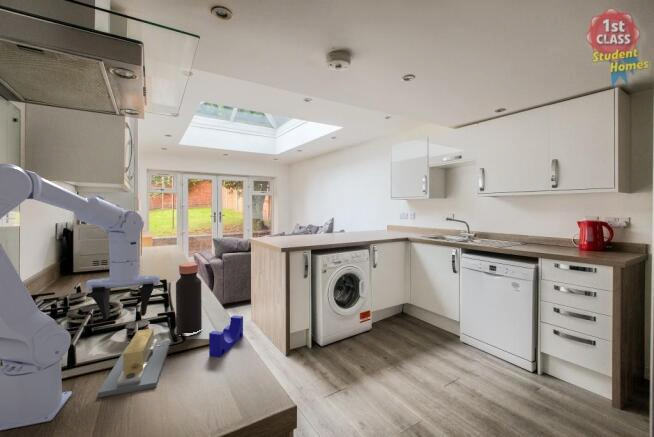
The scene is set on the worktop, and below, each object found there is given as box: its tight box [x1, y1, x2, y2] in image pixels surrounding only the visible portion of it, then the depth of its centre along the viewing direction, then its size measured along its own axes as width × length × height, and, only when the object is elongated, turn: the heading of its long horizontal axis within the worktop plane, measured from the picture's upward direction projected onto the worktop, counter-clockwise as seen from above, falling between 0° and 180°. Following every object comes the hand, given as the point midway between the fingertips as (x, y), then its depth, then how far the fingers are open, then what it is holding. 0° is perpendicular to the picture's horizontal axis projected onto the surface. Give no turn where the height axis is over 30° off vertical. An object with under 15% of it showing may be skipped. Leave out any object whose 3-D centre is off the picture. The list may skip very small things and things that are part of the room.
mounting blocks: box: [117, 338, 158, 386], centre depth 68 cm, size 4×18×1 cm, turn 20°
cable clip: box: [208, 314, 244, 358], centre depth 79 cm, size 12×4×6 cm, turn 169°
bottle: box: [175, 262, 203, 336], centre depth 86 cm, size 7×7×20 cm
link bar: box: [122, 328, 155, 373], centre depth 68 cm, size 4×12×4 cm, turn 21°
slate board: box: [97, 339, 172, 398], centre depth 68 cm, size 10×20×1 cm, turn 20°
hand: (125, 316), depth 71 cm, fingers open, 7 cm apart
